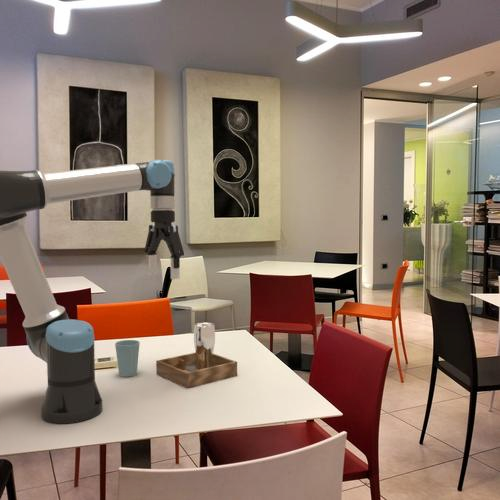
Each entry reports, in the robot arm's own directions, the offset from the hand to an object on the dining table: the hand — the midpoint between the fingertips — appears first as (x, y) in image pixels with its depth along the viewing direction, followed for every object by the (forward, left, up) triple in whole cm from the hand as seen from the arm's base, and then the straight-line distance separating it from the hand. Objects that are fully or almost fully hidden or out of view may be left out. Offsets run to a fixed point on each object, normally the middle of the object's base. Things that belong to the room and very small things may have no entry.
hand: (163, 276), depth 164 cm
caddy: (+8, -7, -32) cm, 33 cm away
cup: (-9, +8, -32) cm, 34 cm away
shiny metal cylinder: (+11, -6, -31) cm, 34 cm away
